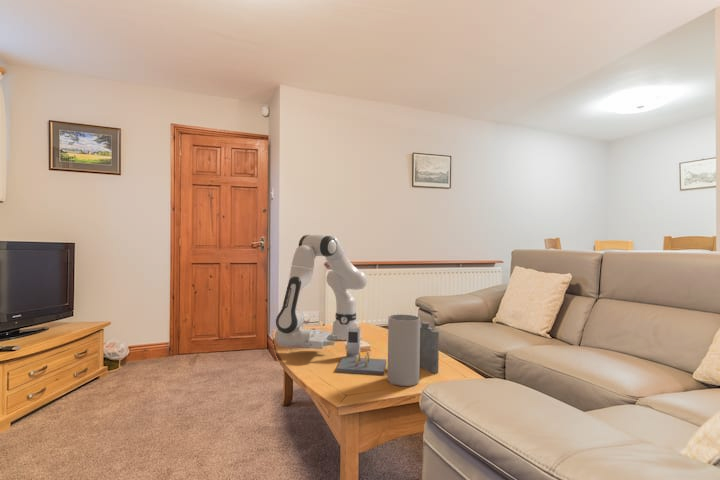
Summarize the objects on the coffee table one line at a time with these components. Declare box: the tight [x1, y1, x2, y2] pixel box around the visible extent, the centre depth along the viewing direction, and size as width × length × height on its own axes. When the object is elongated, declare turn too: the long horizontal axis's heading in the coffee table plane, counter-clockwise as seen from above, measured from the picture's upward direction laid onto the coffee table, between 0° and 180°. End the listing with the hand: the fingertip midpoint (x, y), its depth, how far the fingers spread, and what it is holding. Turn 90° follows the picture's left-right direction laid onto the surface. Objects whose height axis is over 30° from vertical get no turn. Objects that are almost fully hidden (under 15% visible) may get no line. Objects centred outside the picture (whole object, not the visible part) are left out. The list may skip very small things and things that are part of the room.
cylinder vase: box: [387, 314, 421, 387], centre depth 143 cm, size 12×12×25 cm
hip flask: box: [419, 321, 440, 375], centre depth 159 cm, size 16×4×20 cm, turn 36°
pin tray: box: [335, 349, 387, 376], centre depth 158 cm, size 16×20×6 cm
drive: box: [345, 326, 361, 358], centre depth 172 cm, size 4×6×14 cm, turn 82°
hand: (336, 340), depth 173 cm, fingers open, 8 cm apart
